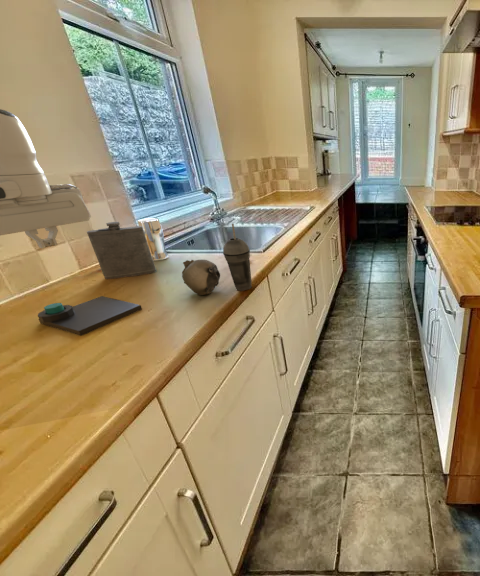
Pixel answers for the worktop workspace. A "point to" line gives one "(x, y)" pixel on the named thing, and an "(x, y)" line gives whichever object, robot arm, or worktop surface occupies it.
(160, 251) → the chrome pepper mill
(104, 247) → the flask
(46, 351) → the worktop surface
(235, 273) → the beverage cup
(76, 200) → the robot arm
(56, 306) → the tare button
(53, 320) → the scale
